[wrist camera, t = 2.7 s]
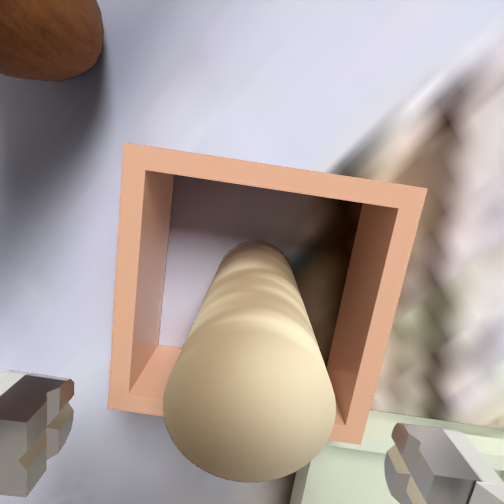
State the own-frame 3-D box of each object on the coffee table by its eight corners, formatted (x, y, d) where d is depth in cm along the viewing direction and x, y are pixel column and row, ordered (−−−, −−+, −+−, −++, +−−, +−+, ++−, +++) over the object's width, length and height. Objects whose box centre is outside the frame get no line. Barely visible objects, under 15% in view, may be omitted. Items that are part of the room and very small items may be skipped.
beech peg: (297, 246, 20) (352, 345, 8) (285, 316, 21) (317, 493, 9) (223, 235, 20) (170, 319, 8) (214, 305, 21) (155, 470, 9)
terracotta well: (384, 185, 19) (427, 188, 14) (338, 385, 22) (360, 445, 17) (158, 151, 19) (123, 142, 14) (141, 356, 22) (107, 408, 17)
